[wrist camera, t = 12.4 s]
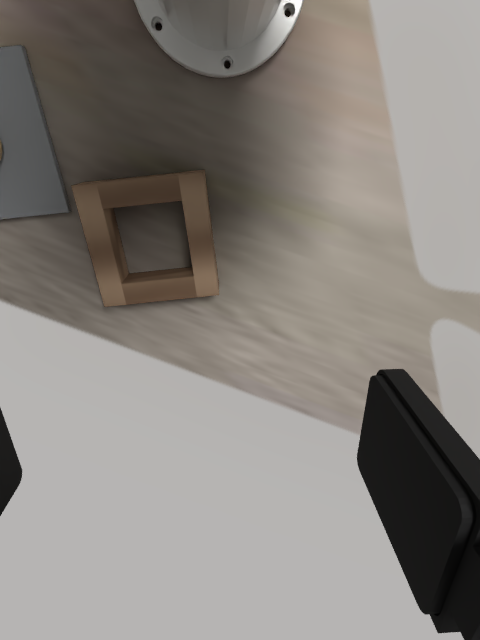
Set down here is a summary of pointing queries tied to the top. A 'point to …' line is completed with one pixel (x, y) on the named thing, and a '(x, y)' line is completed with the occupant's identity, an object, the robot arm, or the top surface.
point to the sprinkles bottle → (0, 150)
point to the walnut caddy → (107, 246)
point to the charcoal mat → (25, 144)
